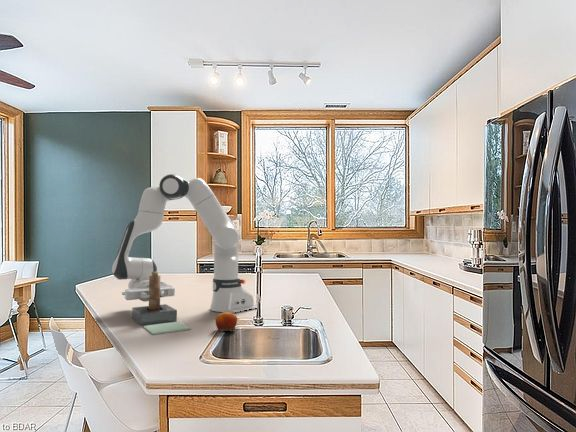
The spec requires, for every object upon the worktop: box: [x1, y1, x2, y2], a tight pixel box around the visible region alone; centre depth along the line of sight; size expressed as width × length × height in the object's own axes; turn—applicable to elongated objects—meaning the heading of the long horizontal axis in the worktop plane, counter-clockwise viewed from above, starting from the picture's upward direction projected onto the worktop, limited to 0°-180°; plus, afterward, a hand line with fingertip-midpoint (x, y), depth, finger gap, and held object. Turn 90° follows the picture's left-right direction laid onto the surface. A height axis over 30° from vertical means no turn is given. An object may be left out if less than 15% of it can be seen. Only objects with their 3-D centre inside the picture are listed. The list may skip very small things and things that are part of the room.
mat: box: [143, 321, 191, 336], centre depth 161 cm, size 14×12×1 cm
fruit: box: [215, 312, 238, 333], centre depth 159 cm, size 8×8×8 cm
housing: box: [131, 303, 178, 327], centre depth 174 cm, size 14×14×4 cm
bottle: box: [148, 271, 161, 311], centre depth 174 cm, size 4×4×20 cm
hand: (155, 295), depth 174 cm, fingers closed on bottle, 4 cm apart
